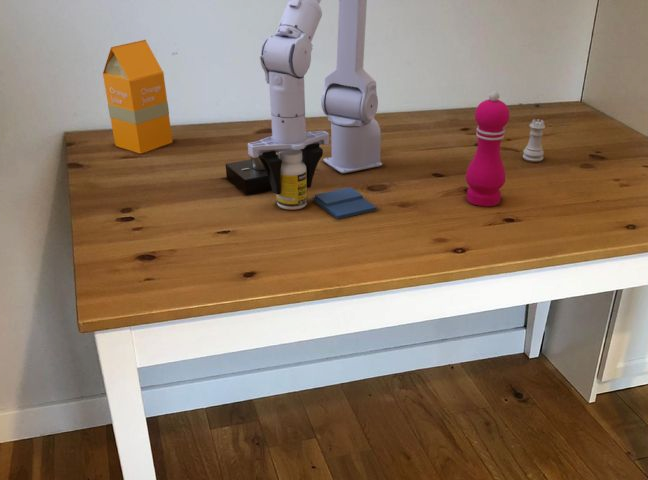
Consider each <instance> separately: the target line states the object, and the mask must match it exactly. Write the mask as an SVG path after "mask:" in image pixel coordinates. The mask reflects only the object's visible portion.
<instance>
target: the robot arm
mask: <svg viewBox="0 0 648 480" xmlns="http://www.w3.org/2000/svg"><path fill="white" fill-rule="evenodd" d="M321 1H322V0H288V2H287V4H286V6H285V8H284V11H283V14H282V16H281V18H280V20H279V23H278V25H277V28H276V30H275V32H274V34H273V35H271V36H270V37H268V38H266V39H265V40H264V41H263V44H262V45H261V51H260V56H259V62H260V66H261V68H262V69H263V72H264V77H265V81H266V84H268V85H269V86H268V87H269V88H268V89H269V103H270V121H271V136H268V137H265V138H262V139H259V140H256V141H251V142H248V143H247V153H248V156H250V158H251V157H253V158H256V157H258V158H259V159H260V161H261V163H262V164H263V166H264V168H265V170H266V173H267V175H268V178H269V181H270V184H271V188H272V190H271V191H272V192H273V193H274V194H275V195H277V194H281V181H280V173H281V165H282V160H281V159H279V158H278V155H279V154H277V153H279V152H281V151H286V150H292V149H294V150H299V149H300V150H301V151H302V161H301V162H303V163H304V164H305V165H306V170H307V189H310V188H312V184H313V178H314V175H315V172H316V169H317V166H318V164H319V162H320V160H321V159H322V157H323V155H324V149H323V148H321V146H320V145H323V146H328V145H330V143H331V145H330V146H331V157H330V156H329V157H325V158H323V159H322V161H323V163H325V164H326V165H328V166H330V167H331V168H333V169H334V170H336V171H337V172H339V173H340V174H349V173H354V172H358V171H359V172H360V171H362V170H369V169H372V168H373V169H374V168H378V167H382V166H383V162H382V161H381V147H382V146H381V145H382V133H381V128H380V127H381V126H380V124H379V122H378V121H377V120H376V119H375V117H376V114H377V112H378V108H379V107H378V106H379V99H378V93H377V81H376V80H375V79H374V78H373V77H372V76H371V75H370V74H369V73H368V72H367V71H366V70H365V69H364V63H365V62H364V60H365V46H366V45H365V43H366V25H367V8H368V7H367V6H368V0H338V15H337V16H338V17H337V18H338V20H337V45H336V68H335V69H334V70H333V71H331V72H330V73H328V74H327V75H326V76H325V77H324V84H323V90H322V91H321V92H322V93H321V98H320V106H321V109H322V111H323V114H325V116H327V121H329V122H330V133H329V132H327V131H325V130H318V131H317V130H316V131H307V125H306V124H307V122H306V96H305V95H306V93H305V75H307V73H308V71H309V69H310V66H311V62H312V51H313V46H314V45H313V43H312V41H313V39H314V36H315V34H316V32H317V29H318V26H319V24H320V21H321V19H322V17H323V10H322V8H321V6H320V3H321ZM330 138H331V139H330ZM330 140H331V141H330Z"/></svg>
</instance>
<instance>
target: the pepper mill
mask: <svg viewBox="0 0 648 480" xmlns="http://www.w3.org/2000/svg"><path fill="white" fill-rule="evenodd" d="M499 99H500V93H499V91H497V90H492V91H491V92H490V93H489V95H488V99H486V100H485V99H484V100H483V101H481V102H480V103H479V104H478V106H477V107H476V108H475V113H474V120H475V122H476V123H477V125H478V126H477V127H476V133H475V135H476V137H477V149H476V151H475V155H474V157H473V158H472V160H471V162H470V163H469V166H468V167H467V170H466V174H465V182H466V183H467V185H468V186H469V187H468V188H467V190H466V201H467V202H468V203H470V204H472V205H475V206H478V207H494V206H497V205H498V204H499V203H500V202H501V197H502V192H501V188H502V187H504V185H505V183H506V171H505V170H506V169H505V166H504V163H503V160H502V156H501V142H502V140H503V139H504V138H505V132H506V130H505V127H506V126H507V124H508V122H509V121H510V109H509V107H508V105H507V104H506V103H505V102H504V101H502V100H499Z"/></svg>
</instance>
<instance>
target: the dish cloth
mask: <svg viewBox="0 0 648 480" xmlns="http://www.w3.org/2000/svg"><path fill="white" fill-rule="evenodd" d="M312 199H313V200H312V201H313V203H315V204H316V205H318V206H319V207H321V209H323V210H325V211H326V212H327V213H328V214H329V215H331V216H332V217H334V218H335V219H336V220H340V219H341V220H342V219H346V218H350V217H355V216H359V215H362V214H367V213H371V212H376V211H377V206H376V205H374V204H373V203H372V202H370V201H368V200H367V199H366V198H364V195H363V194H362V193H360V192H359V191H358V190H355V188H353V187H351V186H348V187H343V188H339V189H335V190H329V191H325V192H321V193H316V194H314V197H312Z"/></svg>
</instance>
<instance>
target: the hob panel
mask: <svg viewBox="0 0 648 480" xmlns="http://www.w3.org/2000/svg"><path fill="white" fill-rule="evenodd" d="M277 155H278V158H279V154H277ZM225 174H226V180H228V181H229V183H231V184H232V185H234V186H235V187H236V188H237V189H238V190H239V191H240V192H242V193H243V195H245V196H249V195H255V194H259V193H265V192H270V191H272V188H271V184H270V181H269V178H268V175H267V173H266V170H256V169H253V168H252V167H251V158H250V159H245V160H239V161H235V162H228V163H225Z"/></svg>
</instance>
